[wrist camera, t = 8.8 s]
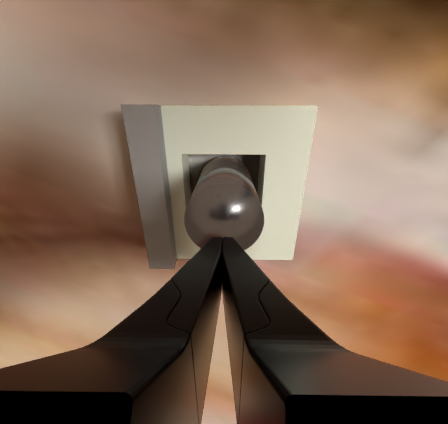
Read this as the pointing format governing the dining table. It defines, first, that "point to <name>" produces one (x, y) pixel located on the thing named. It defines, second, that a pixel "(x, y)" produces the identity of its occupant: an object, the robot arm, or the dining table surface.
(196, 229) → the metal cylinder rod
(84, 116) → the dining table surface
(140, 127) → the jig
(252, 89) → the dining table surface
